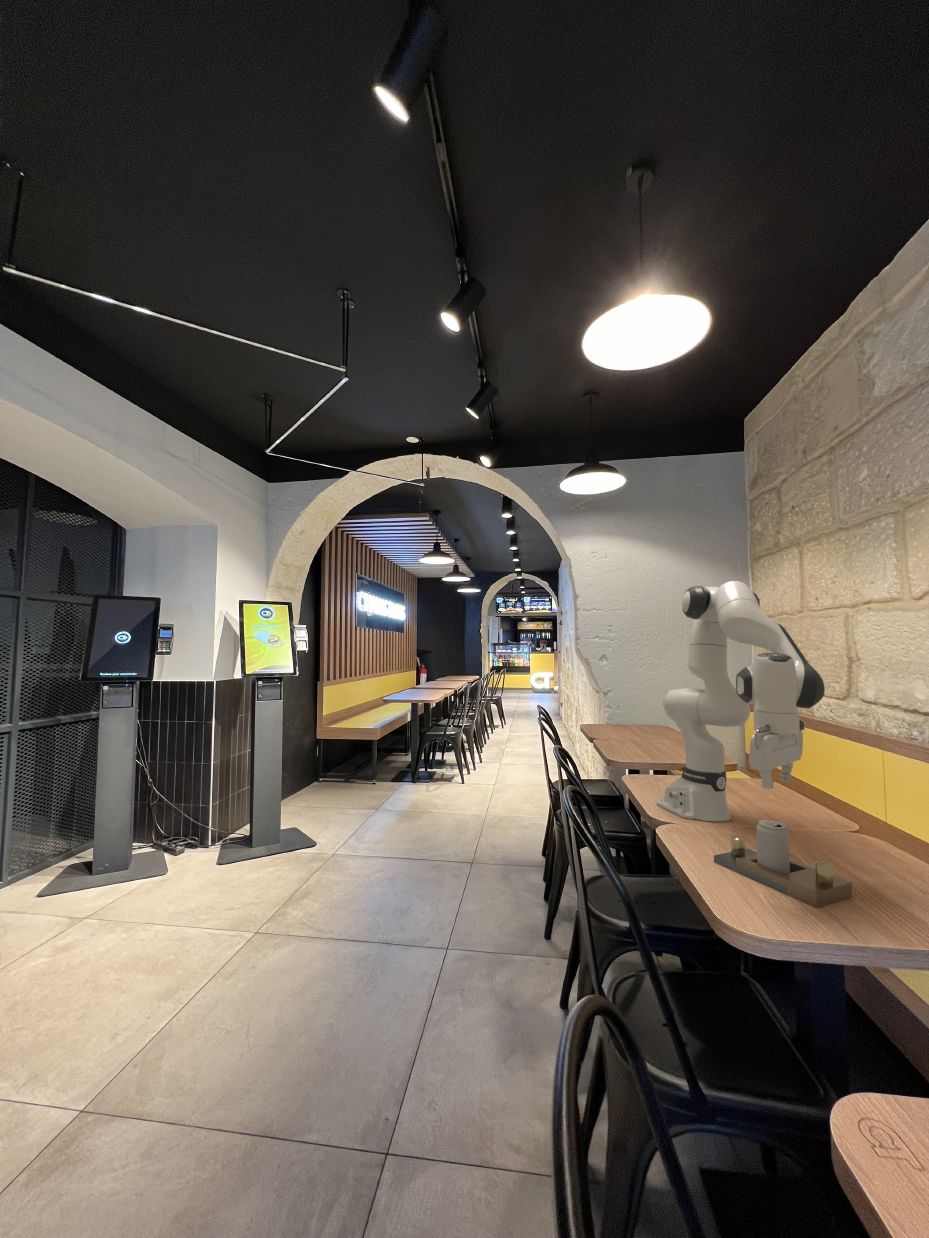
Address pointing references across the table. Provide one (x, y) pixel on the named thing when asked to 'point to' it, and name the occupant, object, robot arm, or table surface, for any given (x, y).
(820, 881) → the plate with brass posts
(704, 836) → the table surface
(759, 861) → the beverage can
